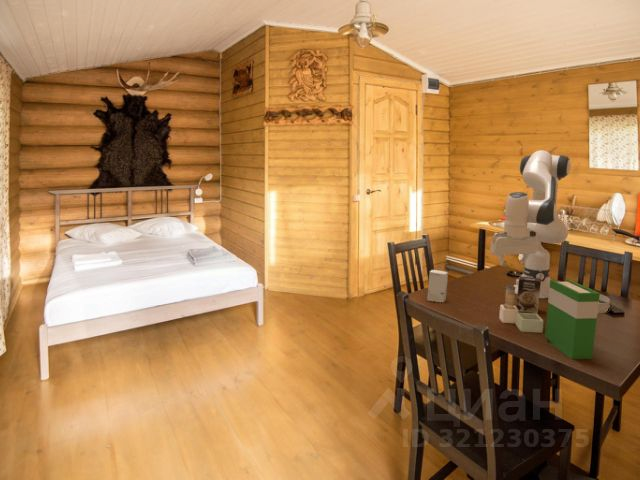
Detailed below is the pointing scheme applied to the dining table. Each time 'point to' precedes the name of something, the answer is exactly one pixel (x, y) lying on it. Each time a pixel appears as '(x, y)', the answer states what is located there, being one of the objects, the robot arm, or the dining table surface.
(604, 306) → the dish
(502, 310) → the cup
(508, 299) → the dowel
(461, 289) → the dining table surface
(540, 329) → the holder
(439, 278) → the skincare box
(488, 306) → the dining table surface
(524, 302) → the coffee box
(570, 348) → the green cereal box
